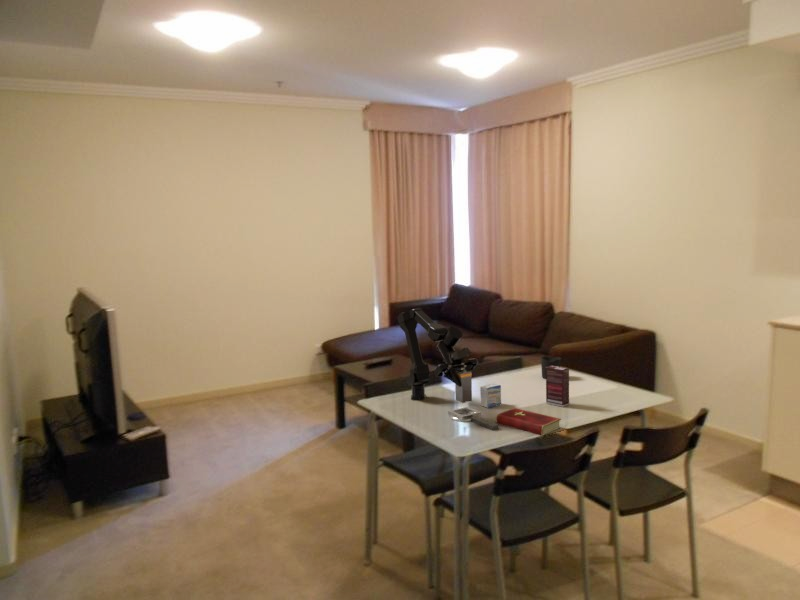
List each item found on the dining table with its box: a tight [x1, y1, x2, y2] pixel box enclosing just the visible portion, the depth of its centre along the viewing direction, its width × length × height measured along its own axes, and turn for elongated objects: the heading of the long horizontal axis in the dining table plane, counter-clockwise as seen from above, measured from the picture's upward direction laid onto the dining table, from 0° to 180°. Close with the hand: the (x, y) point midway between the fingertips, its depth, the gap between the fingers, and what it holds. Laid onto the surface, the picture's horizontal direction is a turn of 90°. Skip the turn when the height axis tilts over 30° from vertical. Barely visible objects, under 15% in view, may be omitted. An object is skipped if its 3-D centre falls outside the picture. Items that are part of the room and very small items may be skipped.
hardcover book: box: [495, 407, 562, 437], centre depth 230 cm, size 12×21×4 cm, turn 43°
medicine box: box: [479, 383, 502, 409], centre depth 257 cm, size 8×4×9 cm, turn 123°
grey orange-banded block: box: [454, 369, 473, 404], centre depth 241 cm, size 5×5×12 cm
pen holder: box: [540, 355, 562, 380], centre depth 299 cm, size 9×9×10 cm
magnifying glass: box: [447, 406, 500, 431], centre depth 237 cm, size 25×12×2 cm, turn 31°
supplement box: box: [545, 366, 570, 408], centre depth 255 cm, size 9×5×16 cm, turn 44°
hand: (465, 385), depth 240 cm, fingers closed on grey orange-banded block, 5 cm apart
